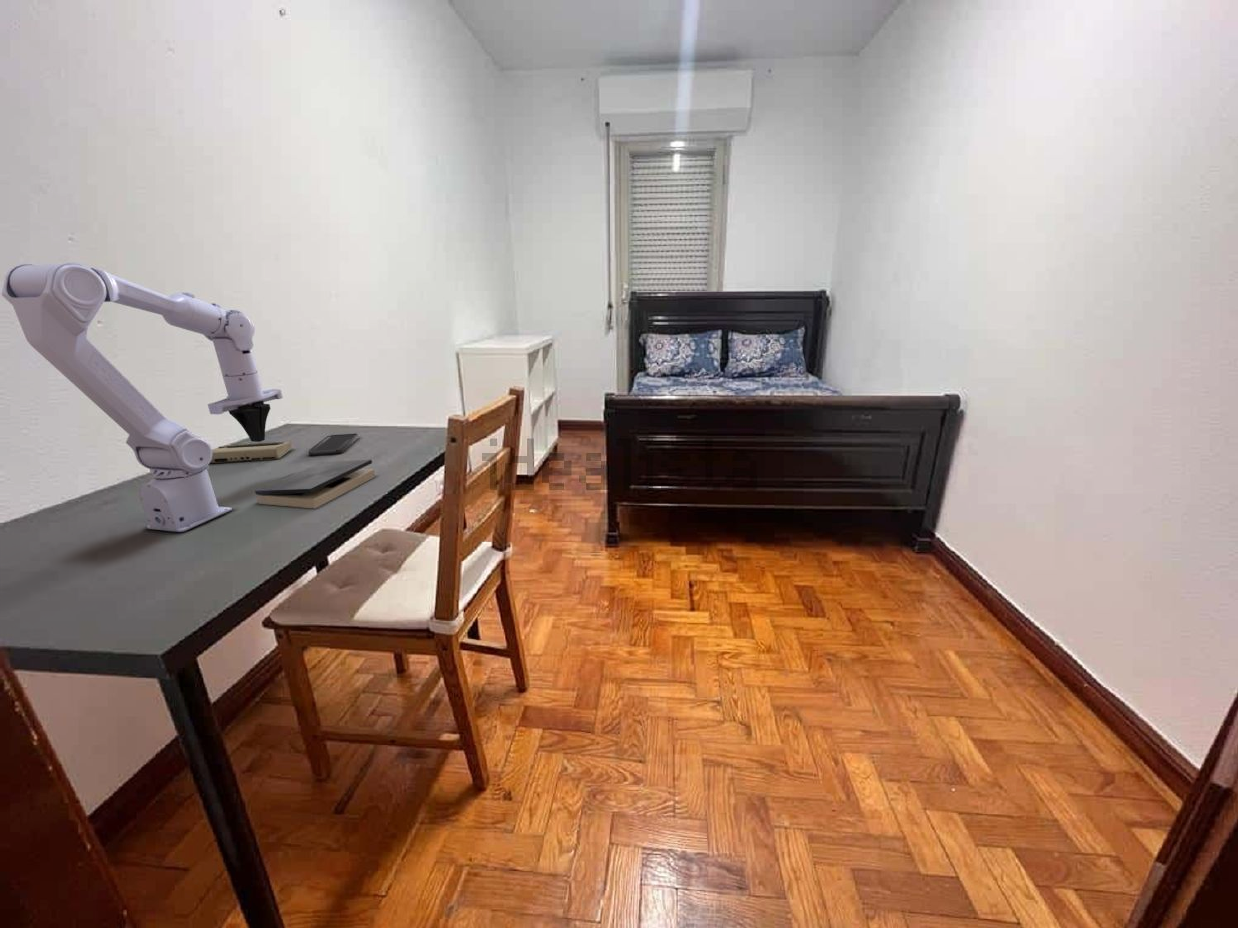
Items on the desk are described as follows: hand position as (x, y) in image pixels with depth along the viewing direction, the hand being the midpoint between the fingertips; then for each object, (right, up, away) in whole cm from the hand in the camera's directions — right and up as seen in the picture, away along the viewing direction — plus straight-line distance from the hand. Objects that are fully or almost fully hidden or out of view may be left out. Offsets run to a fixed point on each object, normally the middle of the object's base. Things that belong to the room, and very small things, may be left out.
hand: (258, 440), depth 105 cm
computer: (-18, -3, +23) cm, 29 cm away
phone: (-1, 0, +30) cm, 30 cm away
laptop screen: (+12, -8, 0) cm, 15 cm away
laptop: (+12, -10, 0) cm, 16 cm away
